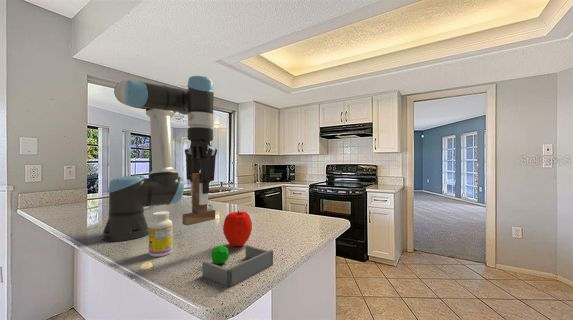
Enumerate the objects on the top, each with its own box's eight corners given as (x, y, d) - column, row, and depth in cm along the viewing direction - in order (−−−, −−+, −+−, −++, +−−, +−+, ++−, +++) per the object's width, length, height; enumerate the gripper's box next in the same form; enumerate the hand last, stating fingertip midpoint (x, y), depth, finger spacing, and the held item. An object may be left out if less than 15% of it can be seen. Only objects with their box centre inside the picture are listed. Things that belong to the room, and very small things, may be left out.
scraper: (181, 224, 75) (182, 173, 75) (209, 218, 83) (210, 172, 83) (187, 225, 73) (188, 174, 73) (215, 219, 81) (216, 172, 81)
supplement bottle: (150, 251, 81) (150, 211, 81) (172, 248, 83) (173, 210, 84) (147, 258, 75) (147, 215, 75) (171, 255, 77) (172, 213, 77)
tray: (202, 275, 64) (202, 259, 64) (247, 256, 77) (247, 243, 77) (229, 287, 58) (229, 269, 58) (272, 264, 71) (273, 250, 71)
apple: (236, 253, 80) (236, 214, 80) (216, 246, 86) (216, 210, 86) (257, 244, 88) (258, 209, 88) (238, 239, 94) (238, 206, 94)
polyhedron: (210, 261, 73) (210, 244, 73) (227, 258, 75) (227, 242, 75) (212, 267, 69) (212, 250, 69) (230, 265, 70) (230, 247, 71)
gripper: (174, 128, 80) (173, 202, 79) (206, 124, 70) (205, 208, 70) (195, 130, 86) (194, 199, 86) (227, 127, 76) (226, 204, 76)
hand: (199, 203), depth 78 cm, fingers closed on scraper, 3 cm apart
